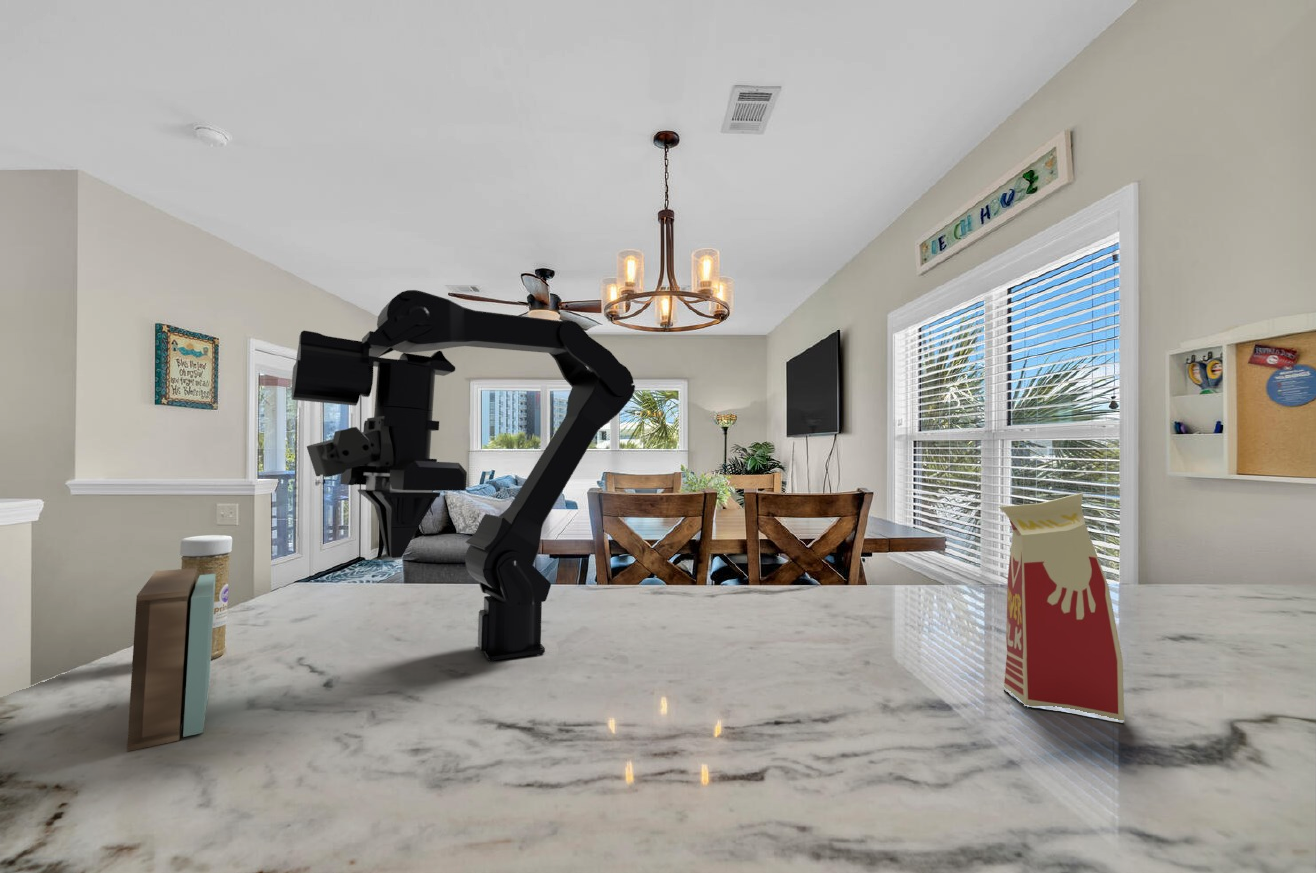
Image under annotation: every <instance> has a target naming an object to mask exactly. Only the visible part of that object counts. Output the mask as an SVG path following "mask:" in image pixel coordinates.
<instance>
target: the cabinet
mask: <svg viewBox="0 0 1316 873" xmlns="http://www.w3.org/2000/svg"><path fill="white" fill-rule="evenodd" d="M196 574H197V568H191V569H182V568H181V569H167V570H156V571H154V573H152V575H151V576H150V577H149V579H148V580H147V581H146V582H145V584H144V585H143V587H142V588H141V589H140V591H139V592H138V593H137V595H136V600H135V601H136V603H135V616H134V617H135V618H134V635H133V648H132V663H131V676H130V678H131V679H130V680H131V681H130V695H129V696H130V697H129V710H128V711H129V712H128V725H127V726H128V727H127V743H126V752H130V751H131V752H133V751H135V750H136V751H137V750H141V749H145V748H150V747H155V746H159V745H163V744H169V743H173V742H176V741H180V736H181V732H182V728H183V725H184V714H185V697H186V680H187V663H188V646H189V629H190V612H191V598H192V595H193V592H194V589H195V587H196Z"/></svg>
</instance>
